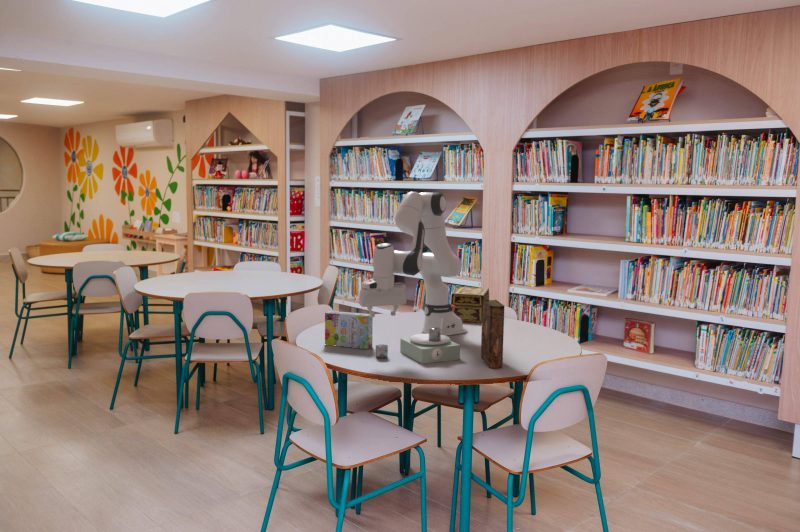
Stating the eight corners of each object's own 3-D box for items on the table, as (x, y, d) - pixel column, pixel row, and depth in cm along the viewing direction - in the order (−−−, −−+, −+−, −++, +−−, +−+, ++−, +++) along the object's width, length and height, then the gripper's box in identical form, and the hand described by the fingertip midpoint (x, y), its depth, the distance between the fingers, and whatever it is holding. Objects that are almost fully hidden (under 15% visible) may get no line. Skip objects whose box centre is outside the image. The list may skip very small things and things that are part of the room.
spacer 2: (437, 338, 270) (437, 326, 269) (442, 341, 266) (443, 329, 265) (426, 339, 268) (426, 327, 267) (432, 342, 263) (432, 330, 263)
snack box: (372, 347, 284) (373, 313, 283) (368, 350, 279) (368, 316, 277) (329, 342, 291) (329, 310, 289) (324, 345, 286) (324, 312, 284)
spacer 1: (384, 355, 270) (384, 343, 270) (389, 358, 266) (389, 346, 265) (373, 356, 268) (373, 344, 268) (378, 359, 264) (378, 347, 263)
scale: (436, 348, 284) (437, 331, 283) (460, 359, 265) (461, 342, 264) (400, 351, 276) (400, 334, 275) (422, 364, 258) (422, 346, 257)
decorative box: (457, 311, 368) (458, 286, 367) (489, 313, 364) (490, 287, 362) (449, 321, 342) (449, 293, 340) (483, 323, 337) (484, 295, 335)
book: (503, 368, 253) (505, 306, 250) (489, 368, 253) (491, 306, 250) (493, 357, 269) (495, 299, 266) (480, 357, 269) (482, 299, 266)
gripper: (402, 280, 270) (402, 313, 272) (357, 283, 262) (357, 316, 263) (409, 283, 265) (408, 315, 266) (363, 285, 256) (363, 319, 258)
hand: (382, 316), depth 265 cm, fingers open, 8 cm apart
